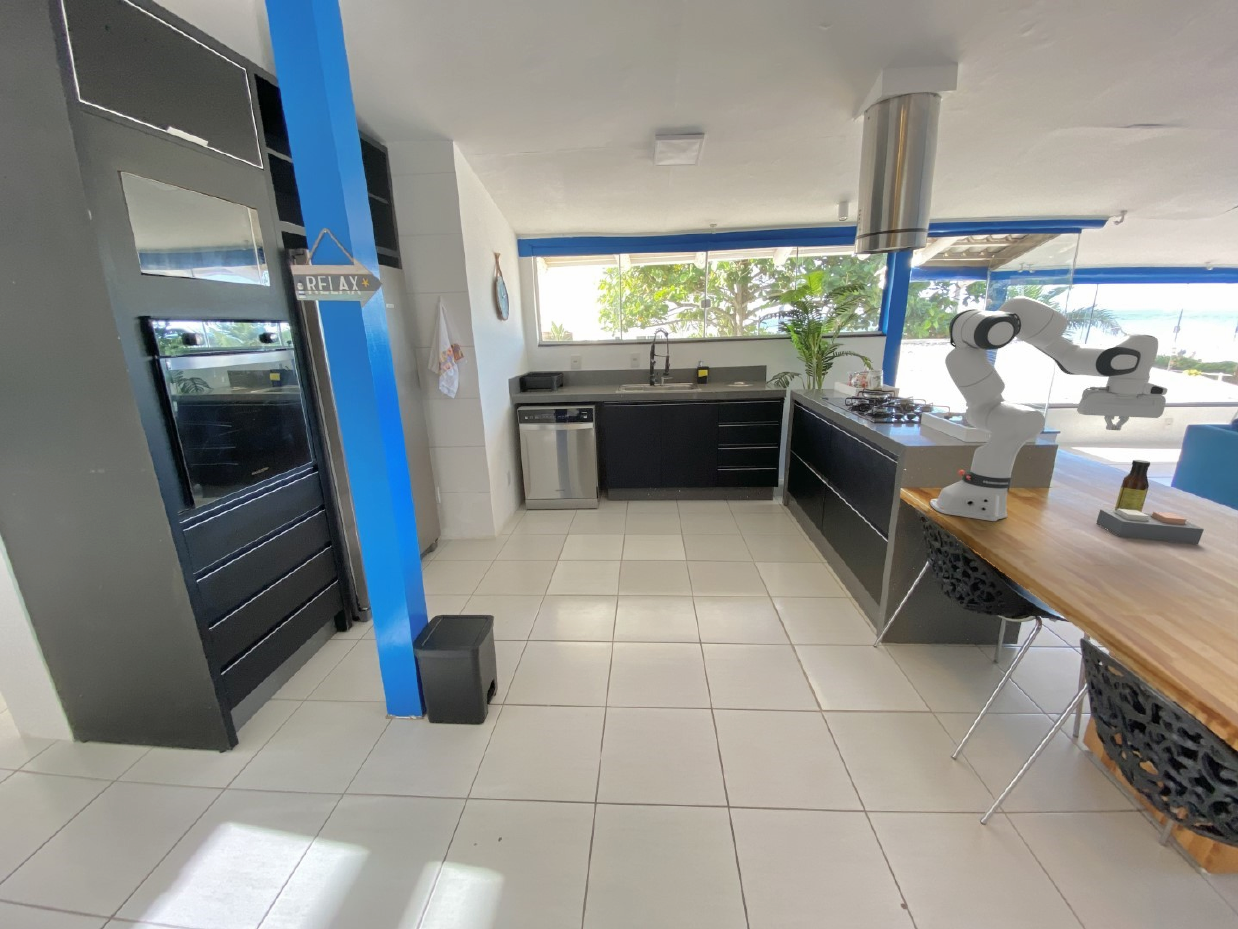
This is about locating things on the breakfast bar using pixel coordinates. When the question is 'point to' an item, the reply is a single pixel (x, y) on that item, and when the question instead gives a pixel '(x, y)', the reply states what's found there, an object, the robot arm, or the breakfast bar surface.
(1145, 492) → the sauce bottle
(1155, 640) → the breakfast bar surface
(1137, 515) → the cream key
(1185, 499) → the breakfast bar surface
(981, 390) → the robot arm
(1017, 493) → the breakfast bar surface
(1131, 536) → the keypad
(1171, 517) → the terracotta key
